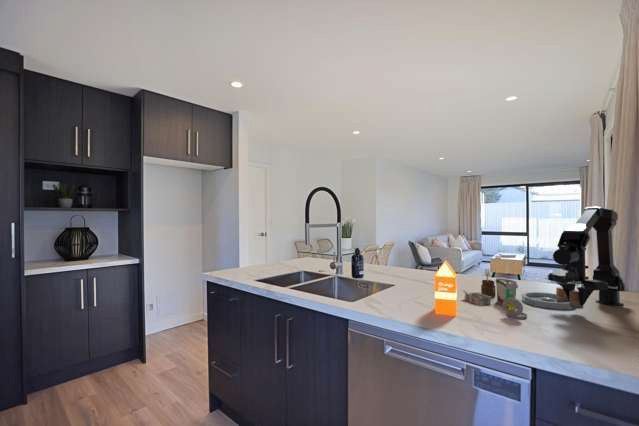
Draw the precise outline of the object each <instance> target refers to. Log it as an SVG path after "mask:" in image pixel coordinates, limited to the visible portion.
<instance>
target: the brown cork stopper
mask: <svg viewBox="0 0 639 426" xmlns="http://www.w3.org/2000/svg"><path fill="white" fill-rule="evenodd" d="M555 288H556V291H555V292H556V293H555V294H556V301H557V302H559V303H563V302H568V298H567V296H566V293H565V291H564V289H563V288H562V287H561V286H560V287H557V286H556V287H555Z"/></svg>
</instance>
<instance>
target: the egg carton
mask: <svg viewBox="0 0 639 426" xmlns="http://www.w3.org/2000/svg"><path fill="white" fill-rule="evenodd" d="M463 293H465V294H464V300H465V301H469V302H470V303H475V305H480V306H484V305H491V298H493V297H492V296H491V297H490V296H487V295H484V294H481V291H480V292H479V291H478V292H472V293H471V292H469V293H468V292H466V291H465V290H463Z"/></svg>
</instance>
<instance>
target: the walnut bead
mask: <svg viewBox="0 0 639 426" xmlns="http://www.w3.org/2000/svg"><path fill="white" fill-rule="evenodd" d="M569 301H570V307H572V308H573V309H578V310H581V309H584V305H580V295H579V290H578V289H577V290H576V289H575V290H569Z"/></svg>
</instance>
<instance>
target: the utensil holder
mask: <svg viewBox="0 0 639 426" xmlns="http://www.w3.org/2000/svg"><path fill="white" fill-rule="evenodd" d="M484 270H485V271H484V275H485V279H482V280H481V286H480V287H481V288H480V293H481V294H484V295H487V296H490V297H491V296H492V297H491V298H494V297H496V296H497V288H496V285H495V284H496V282H495V280H492V279H489V277H492V274H490V269H489V268H487V269H486V268H485V269H484Z"/></svg>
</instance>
